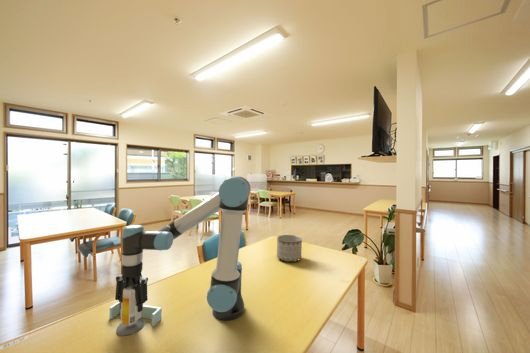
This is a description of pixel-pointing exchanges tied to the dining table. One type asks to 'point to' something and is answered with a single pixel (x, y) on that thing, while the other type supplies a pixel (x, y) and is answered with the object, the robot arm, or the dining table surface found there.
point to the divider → (146, 312)
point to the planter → (289, 247)
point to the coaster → (130, 328)
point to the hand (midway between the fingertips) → (130, 317)
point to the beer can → (128, 306)
